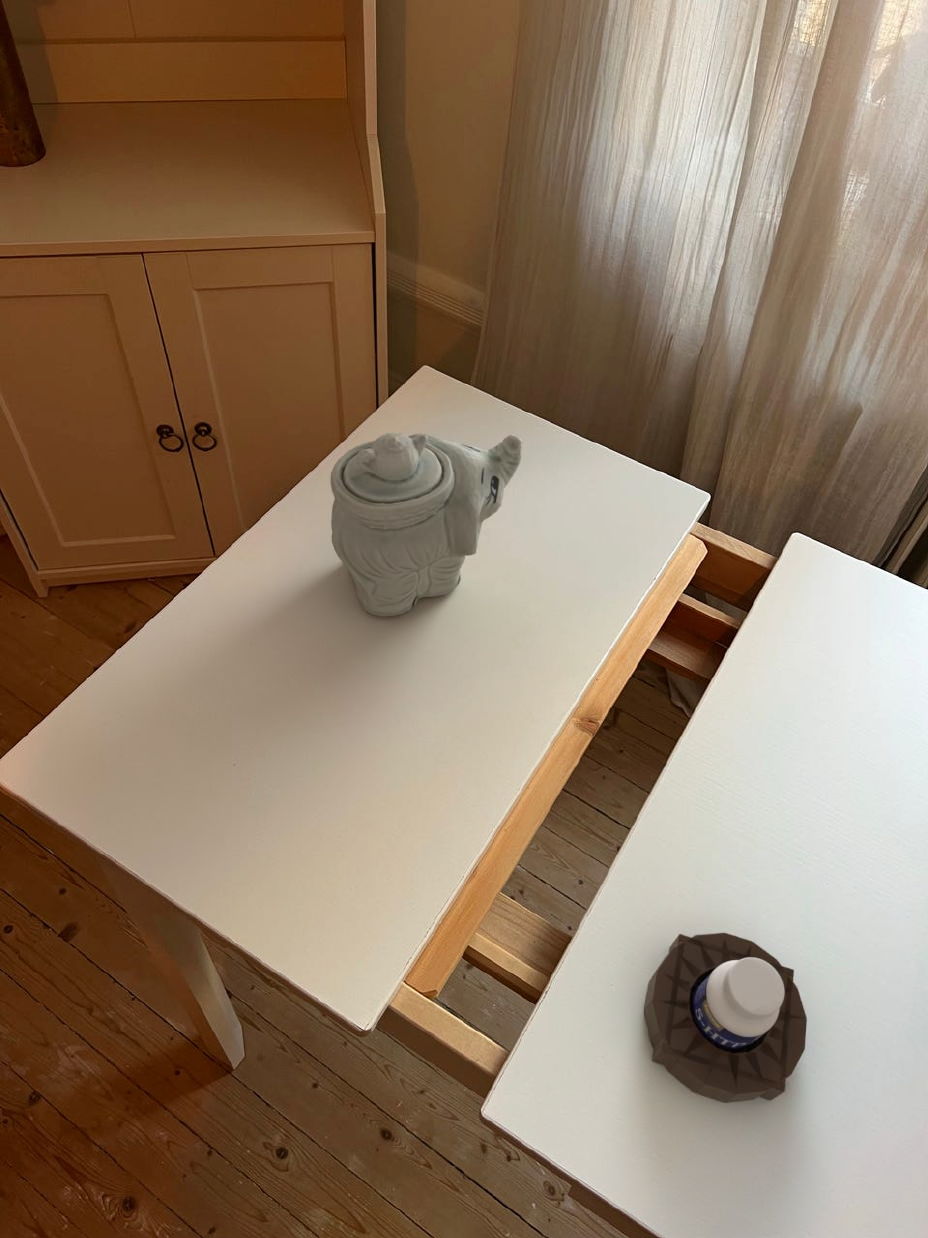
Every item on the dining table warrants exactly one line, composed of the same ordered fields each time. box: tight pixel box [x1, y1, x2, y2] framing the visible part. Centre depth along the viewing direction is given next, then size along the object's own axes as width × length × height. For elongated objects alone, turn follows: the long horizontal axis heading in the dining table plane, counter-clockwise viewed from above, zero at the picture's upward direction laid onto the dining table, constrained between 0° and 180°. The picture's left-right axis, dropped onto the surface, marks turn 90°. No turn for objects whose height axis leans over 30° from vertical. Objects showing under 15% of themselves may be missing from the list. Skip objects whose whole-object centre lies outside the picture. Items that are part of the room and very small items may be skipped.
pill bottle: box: [689, 957, 784, 1053], centre depth 70 cm, size 5×5×9 cm
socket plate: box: [643, 932, 808, 1104], centre depth 72 cm, size 11×11×3 cm
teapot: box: [329, 432, 523, 617], centre depth 91 cm, size 16×15×19 cm
